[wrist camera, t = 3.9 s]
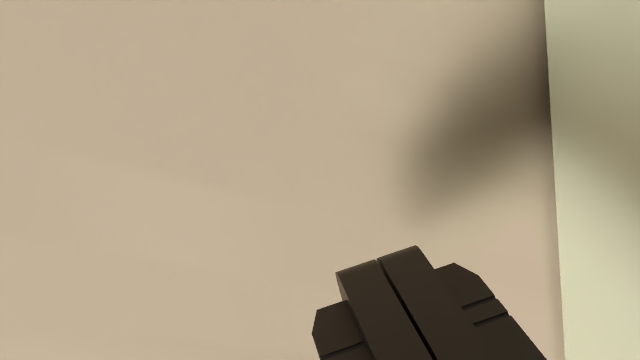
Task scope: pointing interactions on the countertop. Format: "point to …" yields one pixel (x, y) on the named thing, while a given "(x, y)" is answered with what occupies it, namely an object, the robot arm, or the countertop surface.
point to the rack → (597, 172)
